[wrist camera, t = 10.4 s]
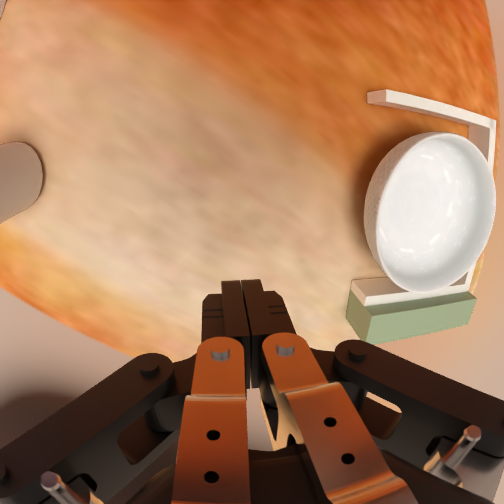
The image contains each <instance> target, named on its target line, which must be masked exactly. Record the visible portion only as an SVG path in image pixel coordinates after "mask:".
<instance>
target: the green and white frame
mask: <svg viewBox="0 0 504 504" xmlns="http://www.w3.org/2000/svg"><path fill="white" fill-rule="evenodd" d="M367 103H369V104H375V105H381V106H387V107H392V108H397V109H403V110H408V111H412V112H417V113H422V114H426V115H430V116H434V117H439V118H443V119H446V120H450V121H454V122H458V123H461V124H465V125H468V140H469V141H471V142H472V143H473V144H474V145H475V146H476V147H477V148H478V149H479V150H480V151H481V152H482V154H483V155H484V157H485V158H486V160H487V162H488V164H489V166H490V169H491V172H493V162H494V150H495V133H496V121H495V120H493V119H490V118H487V117H485V116H482V115H479V114H476V113H473V112H470V111H467V110H464V109H461V108H458V107H454V106H451V105H448V104H444V103H441V102H437V101H434V100H430V99H426V98H422V97H418V96H414V95H410V94H406V93H401V92H397V91H392V90H387V89H385V90H379V91H373V92H367ZM475 265H476V262H475V263H474V265H473V266H472V267H471V268H470V269H469V271H468V272H467V273H466V274H465V275H463V276H462V277H461V278H460V279H459V280H457V281H456V282H455V283H453V284H452V285H450V286H448V287H446V288H444V289H442V290H439V291H436V292H432V293H413V292H409V291H407V290H404V289H402V288H401V287H399V286H397V285H396V284H395V283H394V282H392V281H391V280H390V279H389V278H388V277H383V278H372V279H359V280H352V283H351V289H350V295H349V301H348V307H347V312H346V319H347V320H348V322H349V323H350V325H351V326H352V328H353V329H354V331H355V332H356V334H357V335H358V337H359V338H360V340H362V341H365V342H368V343H370V344H372V345H374V344H380V343H385V342H390V341H396V340H401V339H406V338H411V337H416V336H420V335H425V334H429V333H434V332H438V331H442V330H447V329H451V328H455V327H459V326H463V325H467V324H468V322H469V320H470V317H471V314H472V311H473V308H474V305H475V302H476V299H477V298H476V297H475V296H473V295H472V294H471V293H470V292H468V290H469V286H470V283H471V279H472V276H473V272H474V268H475Z"/></svg>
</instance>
